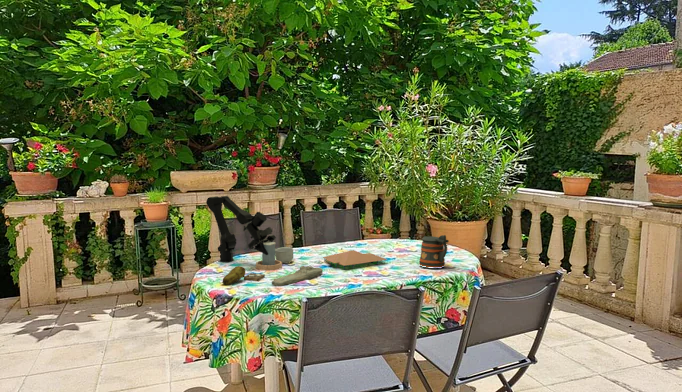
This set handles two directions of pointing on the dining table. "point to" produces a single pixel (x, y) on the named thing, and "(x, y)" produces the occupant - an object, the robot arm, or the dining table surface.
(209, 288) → the dining table surface
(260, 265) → the tan polygonal ring
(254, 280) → the parts tray
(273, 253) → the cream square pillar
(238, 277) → the potato
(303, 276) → the long grey stone
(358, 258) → the brown flat block
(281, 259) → the teacup
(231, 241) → the robot arm
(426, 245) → the beer stein
